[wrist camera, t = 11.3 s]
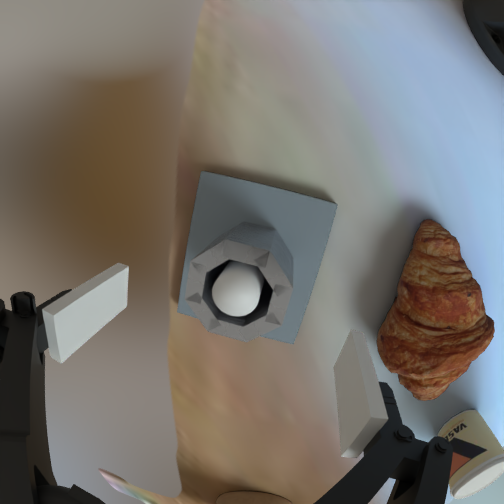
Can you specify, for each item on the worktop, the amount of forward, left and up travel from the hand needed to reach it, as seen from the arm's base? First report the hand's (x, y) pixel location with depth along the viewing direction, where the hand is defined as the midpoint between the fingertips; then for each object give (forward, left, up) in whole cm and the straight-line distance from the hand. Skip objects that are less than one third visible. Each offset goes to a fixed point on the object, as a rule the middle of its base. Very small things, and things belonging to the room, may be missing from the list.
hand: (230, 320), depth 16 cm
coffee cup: (+18, +37, -12) cm, 43 cm away
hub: (0, 0, -11) cm, 11 cm away
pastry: (+2, +19, -13) cm, 23 cm away
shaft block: (0, 0, -12) cm, 12 cm away
